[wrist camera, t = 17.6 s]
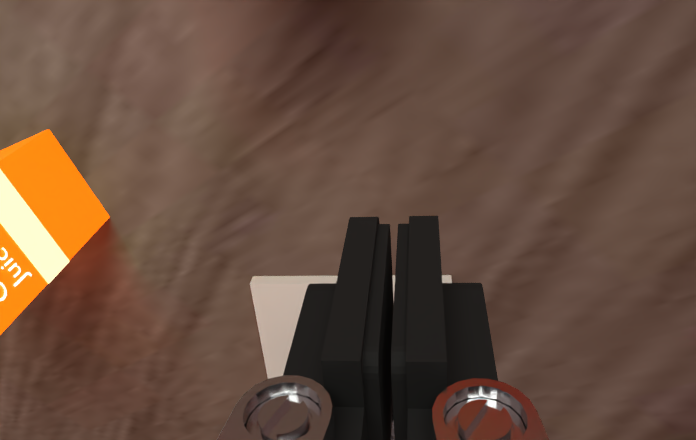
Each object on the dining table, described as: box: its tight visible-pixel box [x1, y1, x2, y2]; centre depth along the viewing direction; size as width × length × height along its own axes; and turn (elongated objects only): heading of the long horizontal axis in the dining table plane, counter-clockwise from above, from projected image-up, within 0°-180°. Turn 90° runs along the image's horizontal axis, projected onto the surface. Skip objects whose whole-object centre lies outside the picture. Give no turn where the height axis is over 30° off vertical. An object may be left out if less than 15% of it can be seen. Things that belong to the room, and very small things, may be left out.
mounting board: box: [250, 275, 452, 379], centre depth 48 cm, size 15×15×1 cm
